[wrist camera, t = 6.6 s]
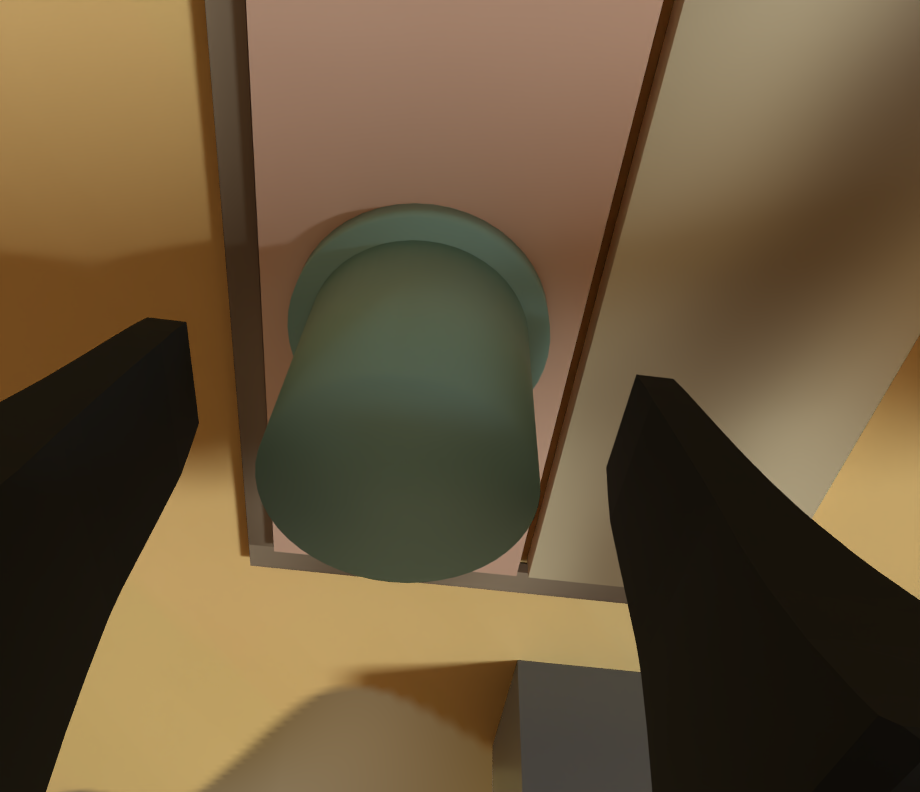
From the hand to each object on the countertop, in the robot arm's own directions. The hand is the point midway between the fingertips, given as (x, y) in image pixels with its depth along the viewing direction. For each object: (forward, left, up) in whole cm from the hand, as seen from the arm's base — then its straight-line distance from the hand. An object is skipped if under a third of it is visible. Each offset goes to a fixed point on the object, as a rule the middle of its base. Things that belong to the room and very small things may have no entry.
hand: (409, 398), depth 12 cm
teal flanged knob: (0, 0, -2) cm, 2 cm away
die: (-6, +14, -3) cm, 16 cm away
